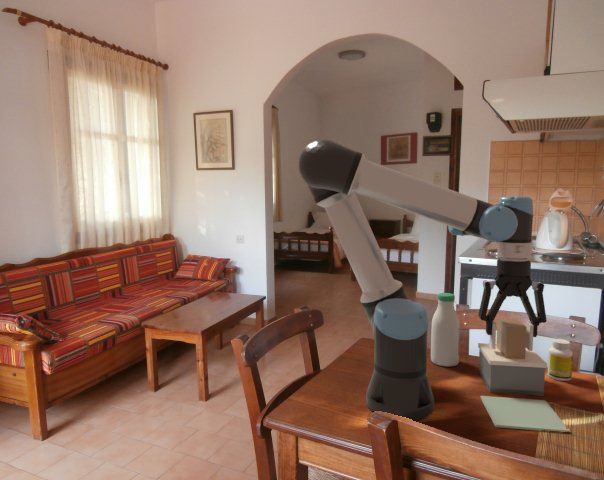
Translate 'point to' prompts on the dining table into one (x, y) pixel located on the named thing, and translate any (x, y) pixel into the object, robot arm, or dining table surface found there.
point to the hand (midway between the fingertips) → (510, 348)
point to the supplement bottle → (560, 360)
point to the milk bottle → (445, 332)
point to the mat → (522, 414)
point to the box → (512, 378)
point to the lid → (511, 346)
